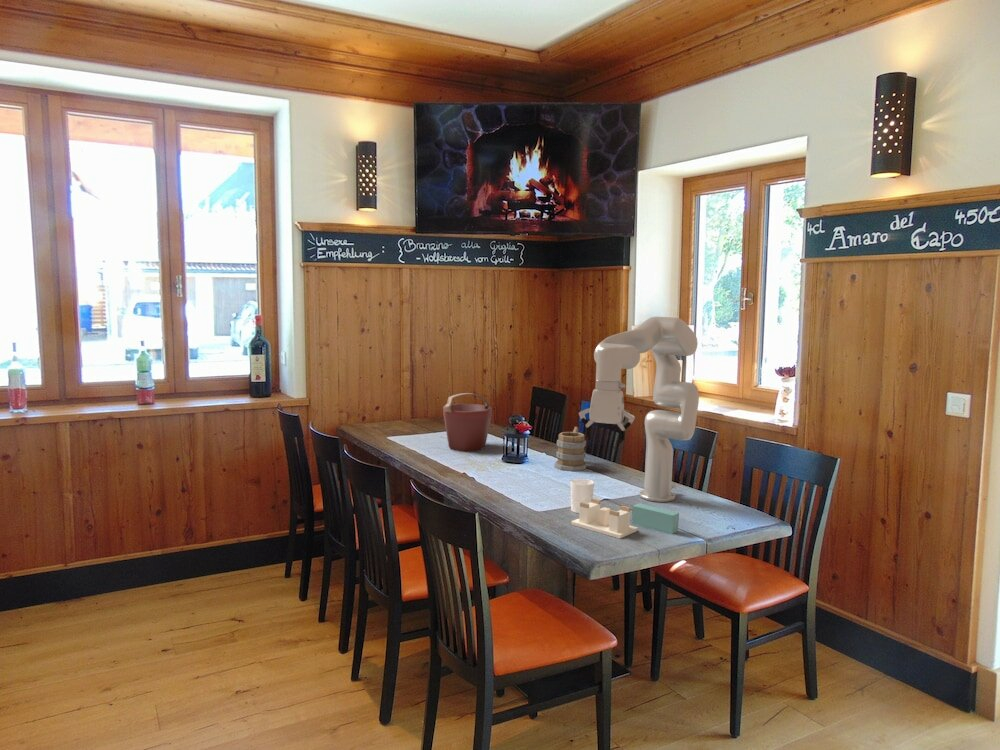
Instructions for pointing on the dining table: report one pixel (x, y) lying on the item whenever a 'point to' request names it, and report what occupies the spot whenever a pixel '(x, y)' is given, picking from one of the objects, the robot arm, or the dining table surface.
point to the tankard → (571, 451)
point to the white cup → (580, 493)
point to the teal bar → (655, 518)
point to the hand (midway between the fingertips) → (605, 441)
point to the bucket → (467, 424)
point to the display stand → (604, 519)
